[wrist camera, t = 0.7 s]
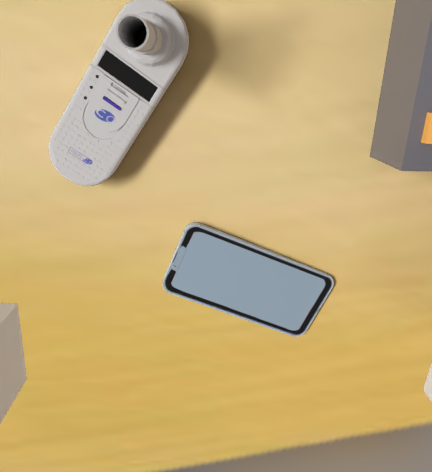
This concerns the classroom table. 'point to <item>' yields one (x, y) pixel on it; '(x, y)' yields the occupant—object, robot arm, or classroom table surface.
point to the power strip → (406, 91)
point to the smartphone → (246, 280)
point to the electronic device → (119, 91)
